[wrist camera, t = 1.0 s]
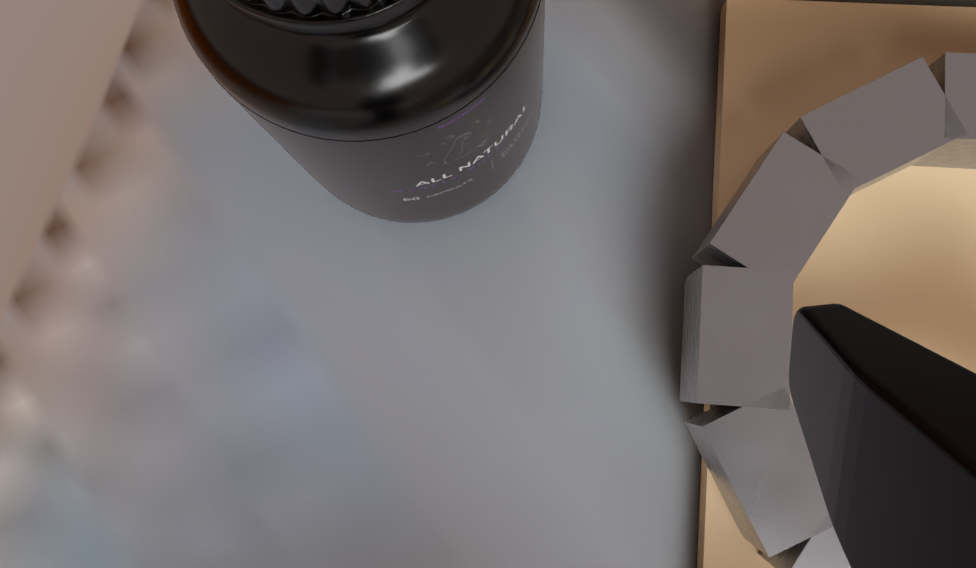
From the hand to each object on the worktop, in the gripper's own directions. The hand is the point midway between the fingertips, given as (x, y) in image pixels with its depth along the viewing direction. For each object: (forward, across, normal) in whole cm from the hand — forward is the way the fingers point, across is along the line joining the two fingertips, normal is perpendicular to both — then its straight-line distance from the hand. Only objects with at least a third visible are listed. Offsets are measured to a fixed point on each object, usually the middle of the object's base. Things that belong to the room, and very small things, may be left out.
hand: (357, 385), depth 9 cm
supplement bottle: (+16, +1, +2) cm, 16 cm away
